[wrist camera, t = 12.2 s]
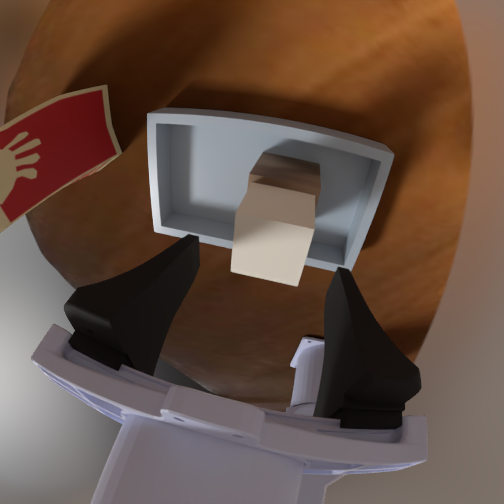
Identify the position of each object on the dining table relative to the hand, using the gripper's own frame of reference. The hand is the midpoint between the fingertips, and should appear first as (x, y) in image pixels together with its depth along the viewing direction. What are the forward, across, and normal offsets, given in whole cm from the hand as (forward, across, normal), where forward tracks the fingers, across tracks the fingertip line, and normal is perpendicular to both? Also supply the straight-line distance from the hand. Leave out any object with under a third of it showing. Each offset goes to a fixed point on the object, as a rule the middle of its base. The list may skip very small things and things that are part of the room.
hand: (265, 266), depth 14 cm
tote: (+10, +2, 0) cm, 11 cm away
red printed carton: (+11, +21, -3) cm, 24 cm away
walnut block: (+10, 0, 0) cm, 10 cm away
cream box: (+5, 0, 0) cm, 5 cm away
